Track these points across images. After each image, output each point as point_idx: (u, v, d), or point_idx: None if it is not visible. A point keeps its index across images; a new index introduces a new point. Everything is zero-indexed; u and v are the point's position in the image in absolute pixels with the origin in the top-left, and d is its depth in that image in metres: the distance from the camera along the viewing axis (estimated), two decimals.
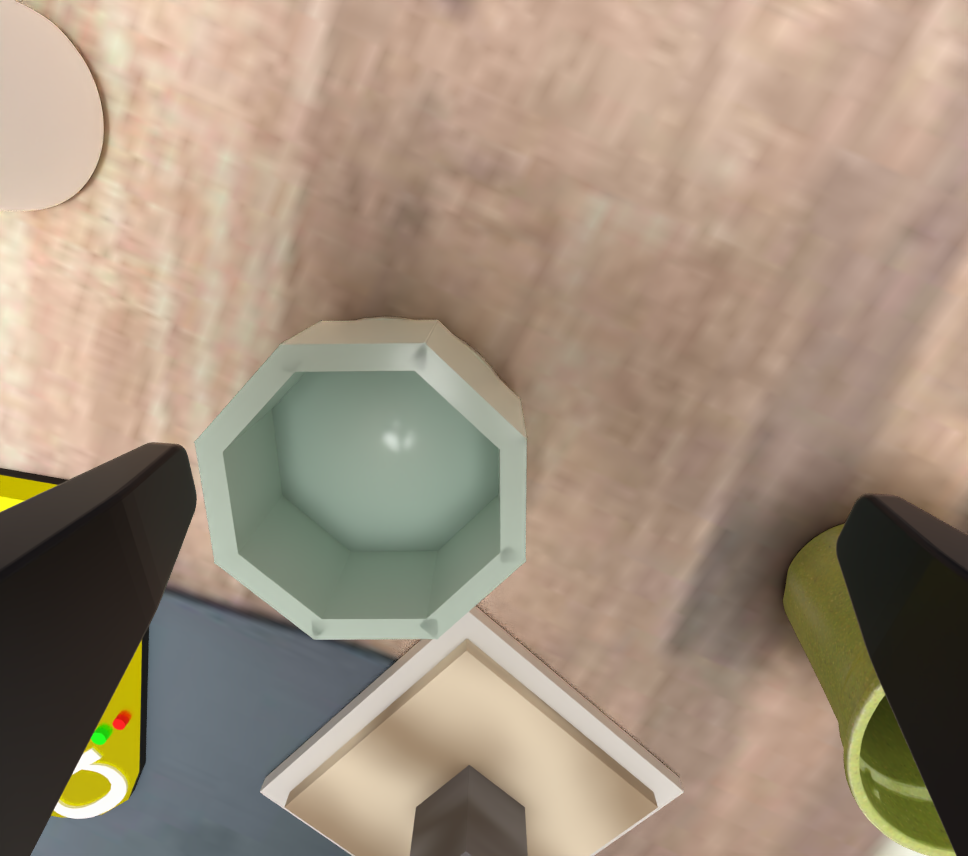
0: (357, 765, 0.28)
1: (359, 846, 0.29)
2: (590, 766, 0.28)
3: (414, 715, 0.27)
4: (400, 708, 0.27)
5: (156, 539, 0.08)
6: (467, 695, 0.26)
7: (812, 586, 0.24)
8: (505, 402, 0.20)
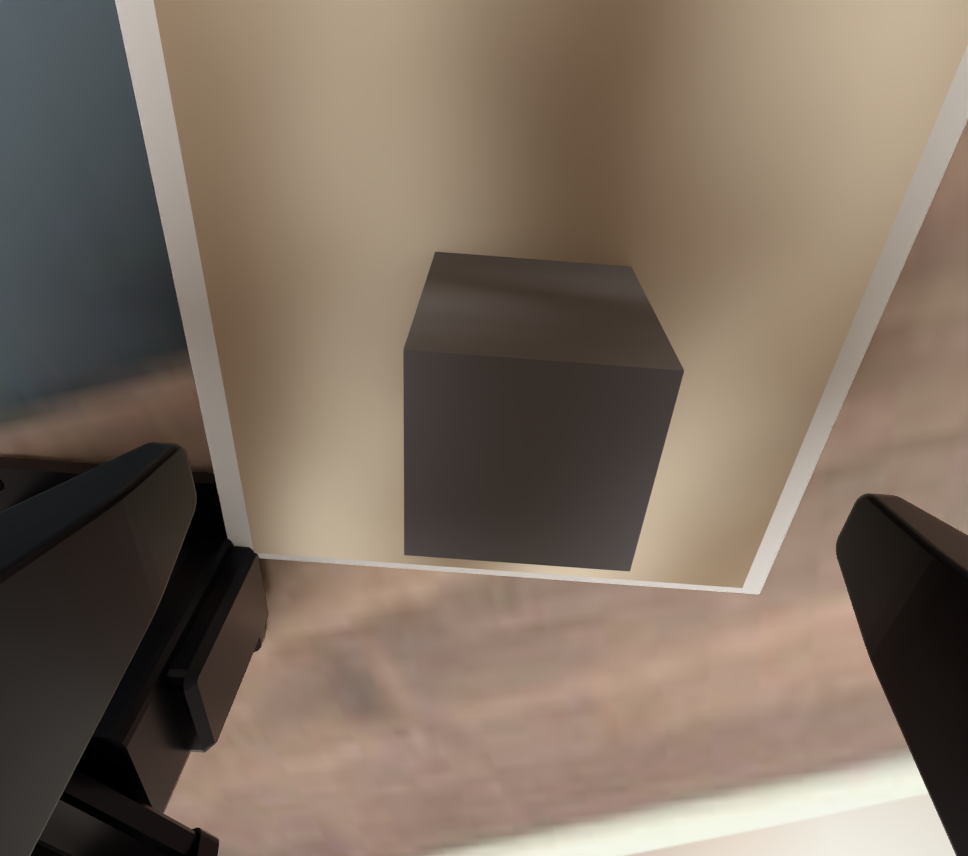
0: (438, 18, 0.09)
1: (227, 221, 0.11)
2: (770, 457, 0.13)
3: (695, 33, 0.09)
4: None
5: (156, 539, 0.08)
6: (834, 113, 0.10)
7: None
8: None
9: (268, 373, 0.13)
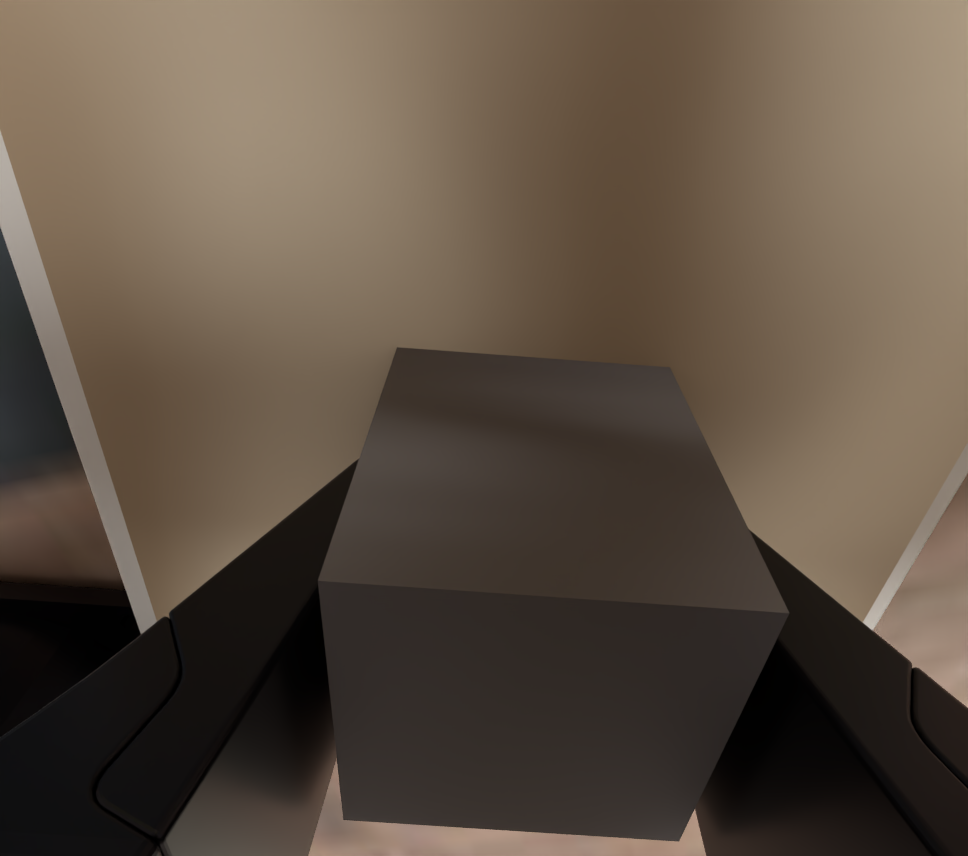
0: (390, 23, 0.06)
1: (104, 308, 0.08)
2: (843, 596, 0.10)
3: (777, 47, 0.06)
4: None
5: None
6: None
7: None
8: None
9: (179, 495, 0.09)
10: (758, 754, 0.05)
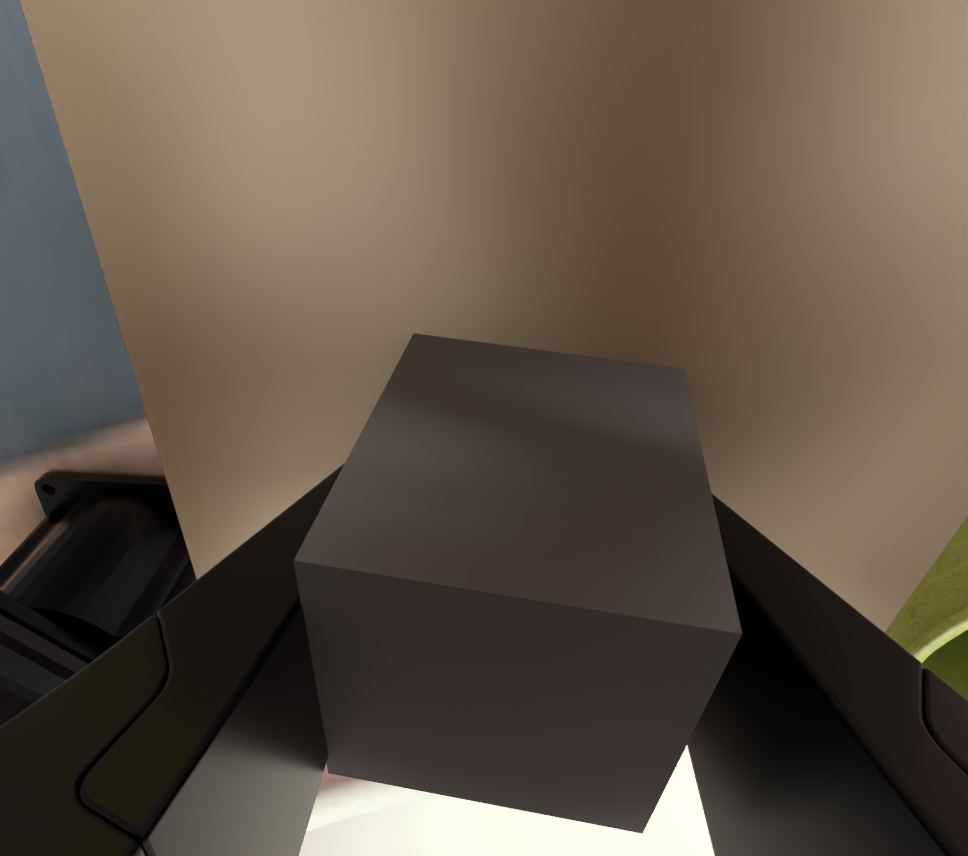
0: (410, 17, 0.06)
1: (146, 281, 0.08)
2: (860, 610, 0.10)
3: (808, 44, 0.06)
4: None
5: None
6: None
7: None
8: None
9: (214, 458, 0.10)
10: (768, 754, 0.05)
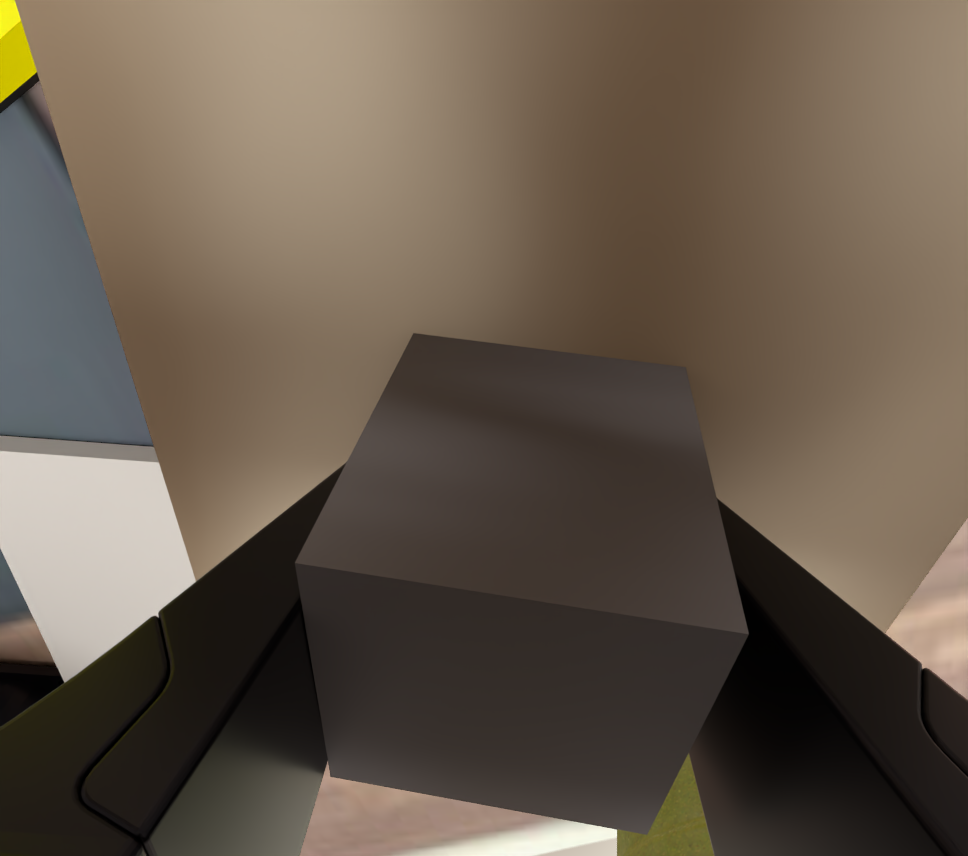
0: (408, 13, 0.06)
1: (143, 282, 0.08)
2: (862, 608, 0.10)
3: (811, 40, 0.06)
4: None
5: None
6: None
7: None
8: None
9: (212, 460, 0.10)
10: (767, 753, 0.05)
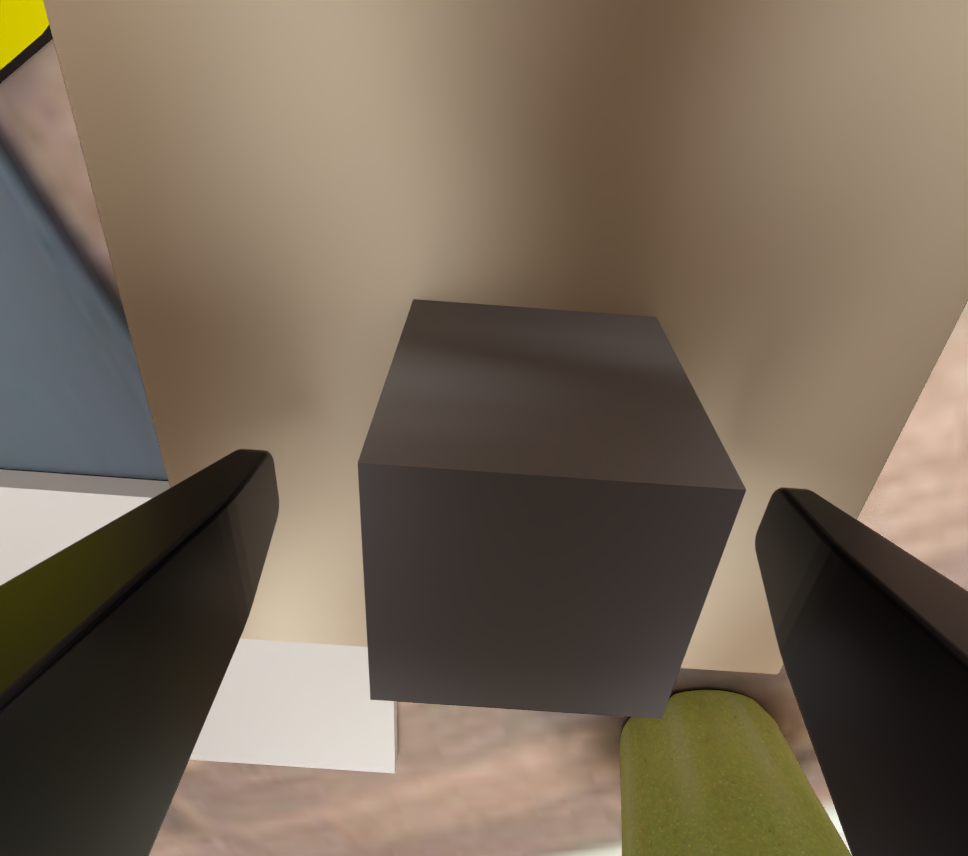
0: (411, 7, 0.07)
1: (153, 263, 0.09)
2: None
3: (745, 26, 0.07)
4: None
5: (250, 546, 0.08)
6: (920, 129, 0.08)
7: (700, 743, 0.22)
8: None
9: (214, 440, 0.10)
10: (933, 764, 0.06)
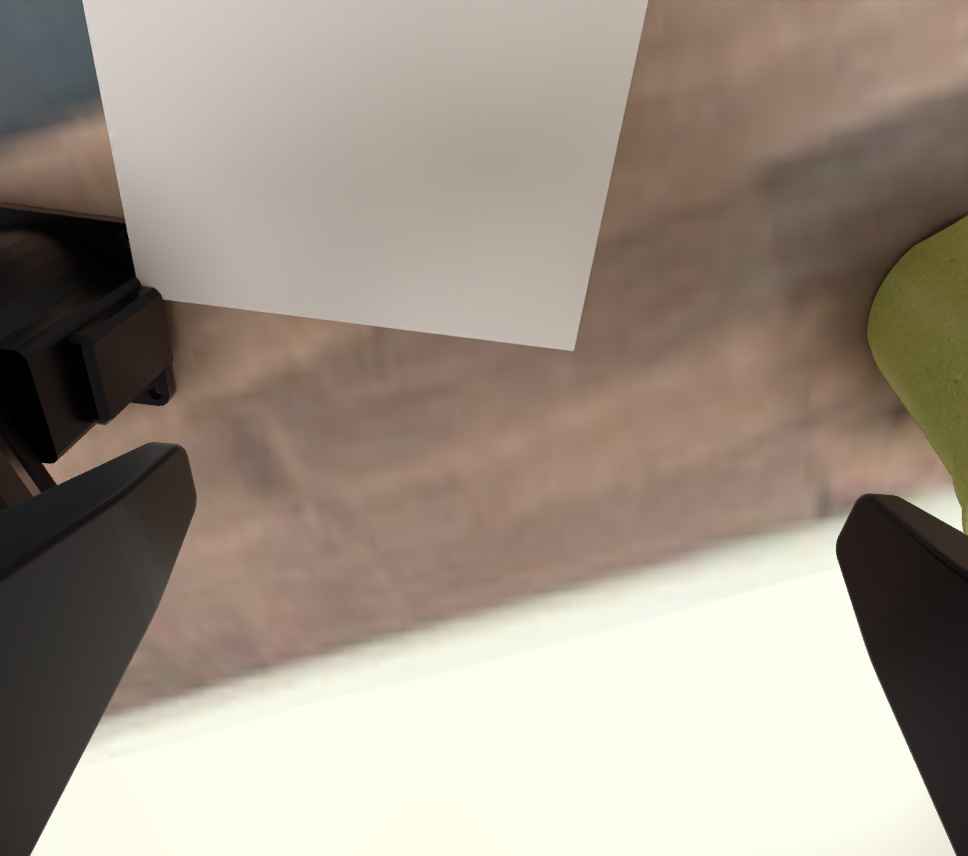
0: None
1: None
2: None
3: None
4: None
5: (156, 539, 0.08)
6: None
7: None
8: None
9: None
10: None
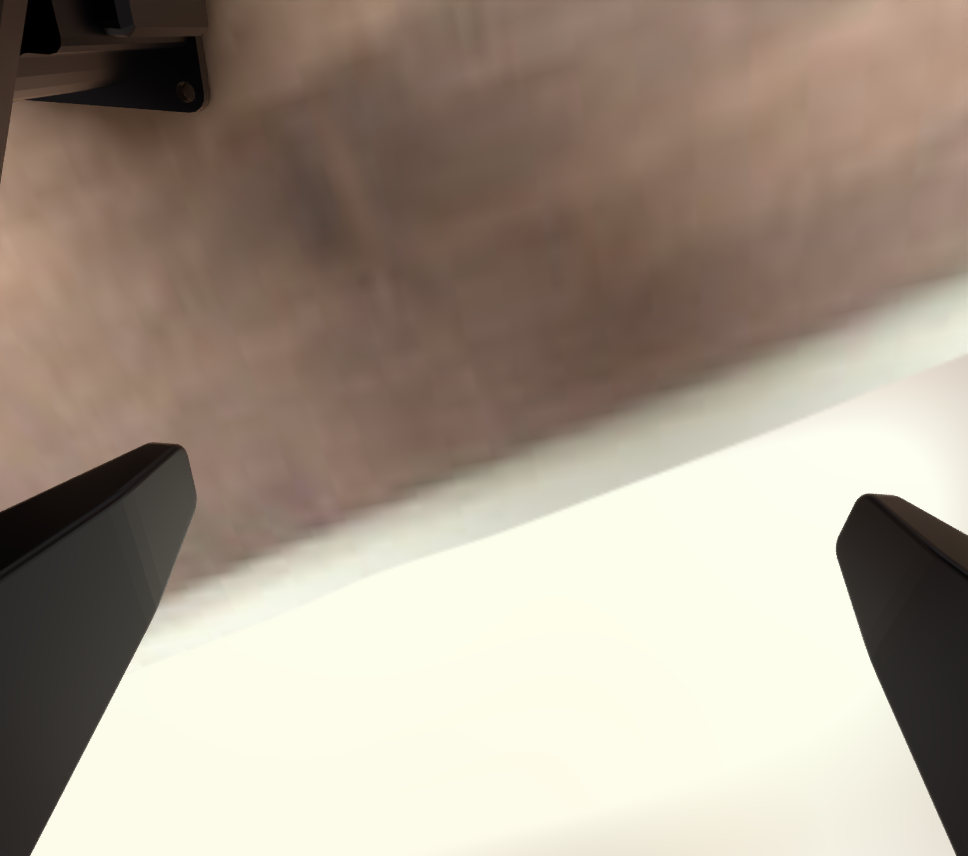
0: None
1: None
2: None
3: None
4: None
5: (156, 539, 0.08)
6: None
7: None
8: None
9: None
10: None
